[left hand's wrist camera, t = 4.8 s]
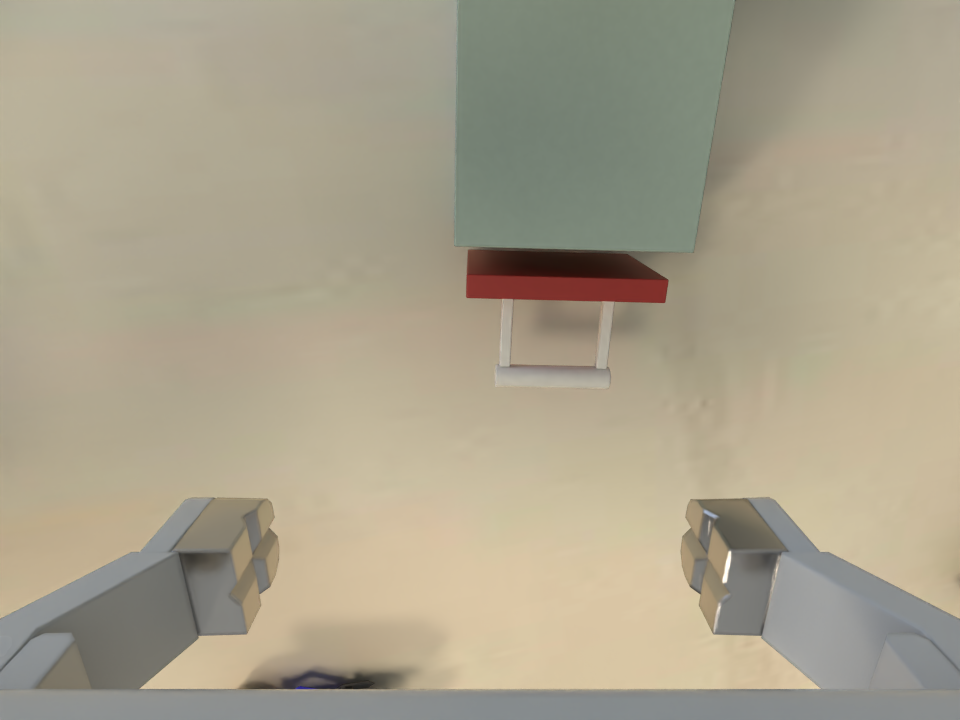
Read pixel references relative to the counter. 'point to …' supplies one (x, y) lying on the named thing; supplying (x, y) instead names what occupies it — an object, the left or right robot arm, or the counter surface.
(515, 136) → the cabinet
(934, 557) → the counter surface
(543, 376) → the drawer
